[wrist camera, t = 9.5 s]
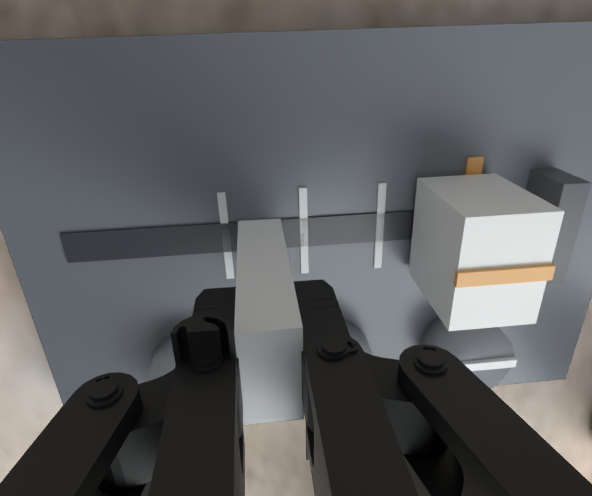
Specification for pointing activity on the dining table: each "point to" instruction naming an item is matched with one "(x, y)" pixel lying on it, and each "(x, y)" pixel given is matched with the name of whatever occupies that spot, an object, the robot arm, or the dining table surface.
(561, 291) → the console
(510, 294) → the fader cap
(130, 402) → the robot arm
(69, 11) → the dining table surface
